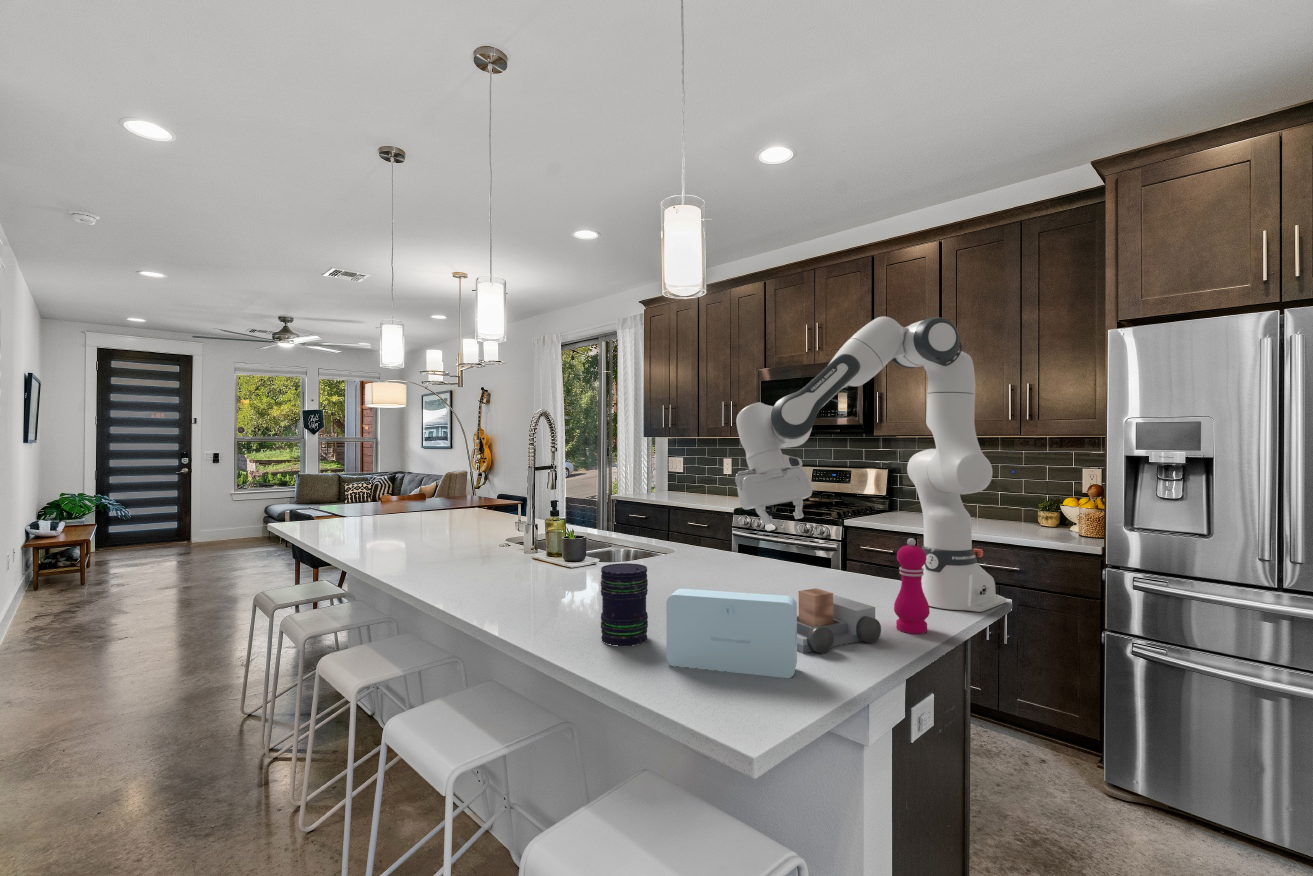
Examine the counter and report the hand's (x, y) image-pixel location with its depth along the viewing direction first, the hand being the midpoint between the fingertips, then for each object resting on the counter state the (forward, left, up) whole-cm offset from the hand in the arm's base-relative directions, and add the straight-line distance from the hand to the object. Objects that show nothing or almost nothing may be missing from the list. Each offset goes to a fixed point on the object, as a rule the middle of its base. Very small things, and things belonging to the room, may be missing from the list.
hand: (784, 521), depth 153 cm
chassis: (+6, +18, -22) cm, 29 cm away
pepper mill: (-15, +24, -22) cm, 36 cm away
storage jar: (+43, 0, -22) cm, 48 cm away
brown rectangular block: (+6, +18, -20) cm, 28 cm away
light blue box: (+32, +24, -22) cm, 46 cm away
